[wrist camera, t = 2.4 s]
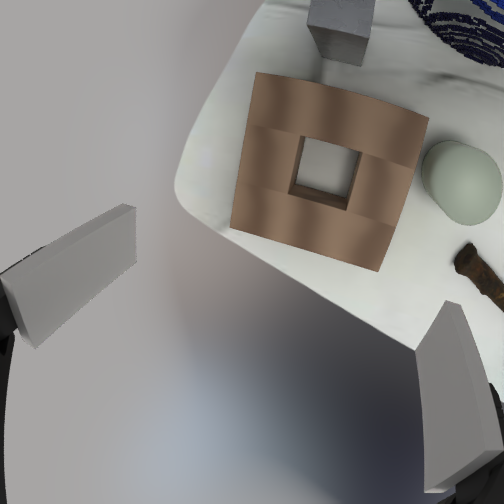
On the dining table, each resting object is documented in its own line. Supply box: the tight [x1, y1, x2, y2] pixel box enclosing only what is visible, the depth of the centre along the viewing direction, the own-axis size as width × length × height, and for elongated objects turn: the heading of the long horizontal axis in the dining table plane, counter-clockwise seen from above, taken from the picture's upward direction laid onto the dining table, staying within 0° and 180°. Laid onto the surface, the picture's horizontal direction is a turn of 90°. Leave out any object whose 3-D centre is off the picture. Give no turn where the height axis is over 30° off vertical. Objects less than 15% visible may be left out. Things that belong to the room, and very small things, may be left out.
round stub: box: [422, 141, 503, 226], centre depth 27 cm, size 8×8×7 cm
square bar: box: [307, 0, 375, 66], centre depth 21 cm, size 4×4×14 cm
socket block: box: [230, 72, 429, 272], centre depth 32 cm, size 18×18×5 cm
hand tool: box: [454, 243, 504, 312], centre depth 32 cm, size 19×4×5 cm, turn 58°
